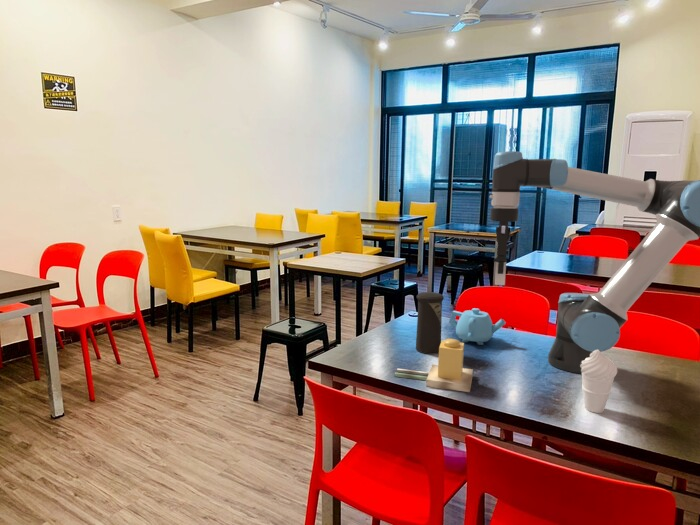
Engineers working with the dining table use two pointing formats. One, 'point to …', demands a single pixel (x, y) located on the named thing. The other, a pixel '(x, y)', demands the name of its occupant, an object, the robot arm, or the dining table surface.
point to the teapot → (474, 325)
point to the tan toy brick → (451, 359)
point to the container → (429, 322)
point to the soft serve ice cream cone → (597, 380)
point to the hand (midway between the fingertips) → (499, 280)
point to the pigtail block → (439, 378)
